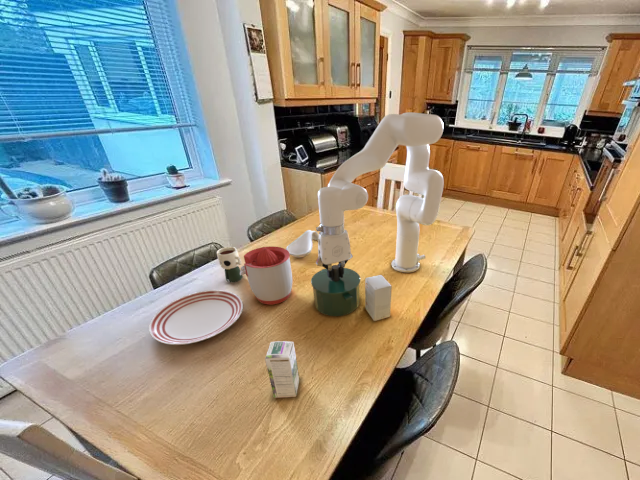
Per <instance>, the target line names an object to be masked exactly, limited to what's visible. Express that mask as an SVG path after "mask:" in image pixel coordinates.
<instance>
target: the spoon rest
mask: <svg viewBox="0 0 640 480" xmlns="http://www.w3.org/2000/svg"><path fill="white" fill-rule="evenodd" d="M318 238H319V232H318V231H317V230H311V229H307V230H305V231H304V232H303V233H302V234H301V235H299V236H298V237H297V238H295V239H294V240H293V241H292V242H290V243H289V244H288V245H287V246H286V248H285V249H286V250H287V251H288V252H289V253H290V256H291V257H294V258H304V257H306V256H309V254H310V253H311V252H312V250H313V245H314V244H313V240H314V241H318Z"/></svg>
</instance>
